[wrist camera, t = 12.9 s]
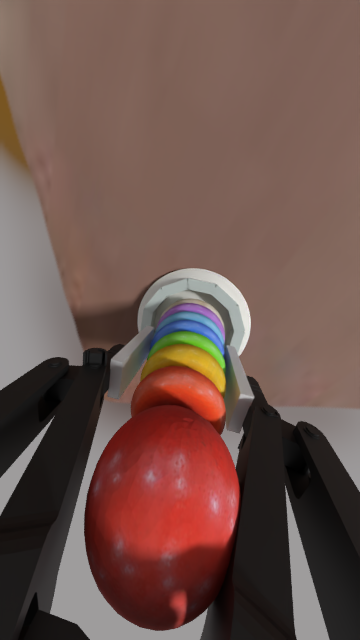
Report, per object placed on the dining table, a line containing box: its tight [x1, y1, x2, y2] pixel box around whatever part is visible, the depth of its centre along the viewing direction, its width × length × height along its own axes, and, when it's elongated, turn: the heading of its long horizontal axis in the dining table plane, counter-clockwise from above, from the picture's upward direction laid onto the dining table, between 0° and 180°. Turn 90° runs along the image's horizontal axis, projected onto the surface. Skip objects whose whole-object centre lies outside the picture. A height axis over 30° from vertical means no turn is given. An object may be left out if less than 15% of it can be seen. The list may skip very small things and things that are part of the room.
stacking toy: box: [84, 298, 241, 631], centre depth 13 cm, size 8×8×19 cm
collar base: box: [137, 268, 251, 357], centre depth 22 cm, size 15×15×3 cm
